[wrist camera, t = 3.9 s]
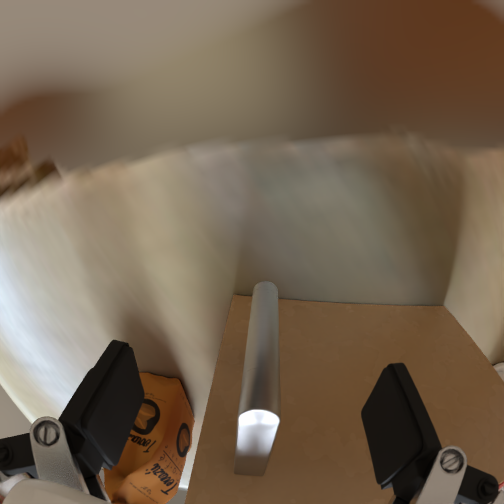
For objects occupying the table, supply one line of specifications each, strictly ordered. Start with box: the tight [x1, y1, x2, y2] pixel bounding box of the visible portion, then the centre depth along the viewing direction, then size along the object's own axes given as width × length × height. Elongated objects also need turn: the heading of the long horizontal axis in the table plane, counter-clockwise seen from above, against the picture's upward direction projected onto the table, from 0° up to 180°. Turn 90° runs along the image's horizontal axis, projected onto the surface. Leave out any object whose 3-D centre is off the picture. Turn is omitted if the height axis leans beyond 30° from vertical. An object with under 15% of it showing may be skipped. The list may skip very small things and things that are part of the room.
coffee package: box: [104, 372, 195, 504], centre depth 27 cm, size 10×12×22 cm
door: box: [185, 281, 504, 504], centre depth 16 cm, size 8×26×24 cm, turn 86°
